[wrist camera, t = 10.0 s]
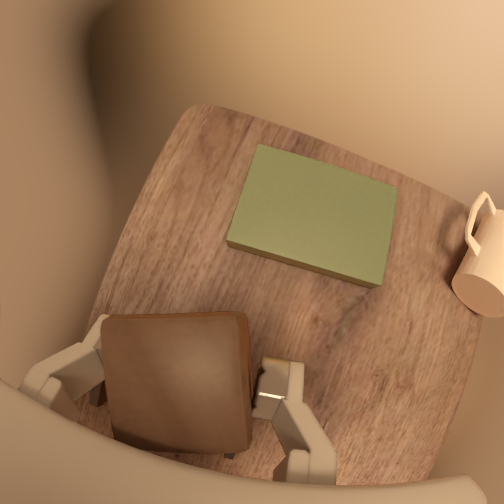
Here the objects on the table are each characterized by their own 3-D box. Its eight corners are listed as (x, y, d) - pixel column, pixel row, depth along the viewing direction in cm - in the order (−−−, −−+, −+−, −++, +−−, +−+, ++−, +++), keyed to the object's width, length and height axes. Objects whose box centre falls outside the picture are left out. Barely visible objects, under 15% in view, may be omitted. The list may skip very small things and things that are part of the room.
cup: (425, 249, 30) (458, 190, 31) (466, 312, 32) (494, 255, 33) (482, 248, 22) (508, 180, 23) (515, 322, 24) (538, 255, 25)
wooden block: (247, 311, 15) (241, 310, 7) (253, 388, 14) (253, 458, 7) (169, 315, 15) (93, 314, 7) (176, 390, 14) (111, 450, 7)
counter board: (227, 246, 32) (225, 239, 29) (257, 156, 34) (258, 143, 31) (370, 288, 31) (381, 286, 28) (387, 197, 33) (398, 188, 30)
